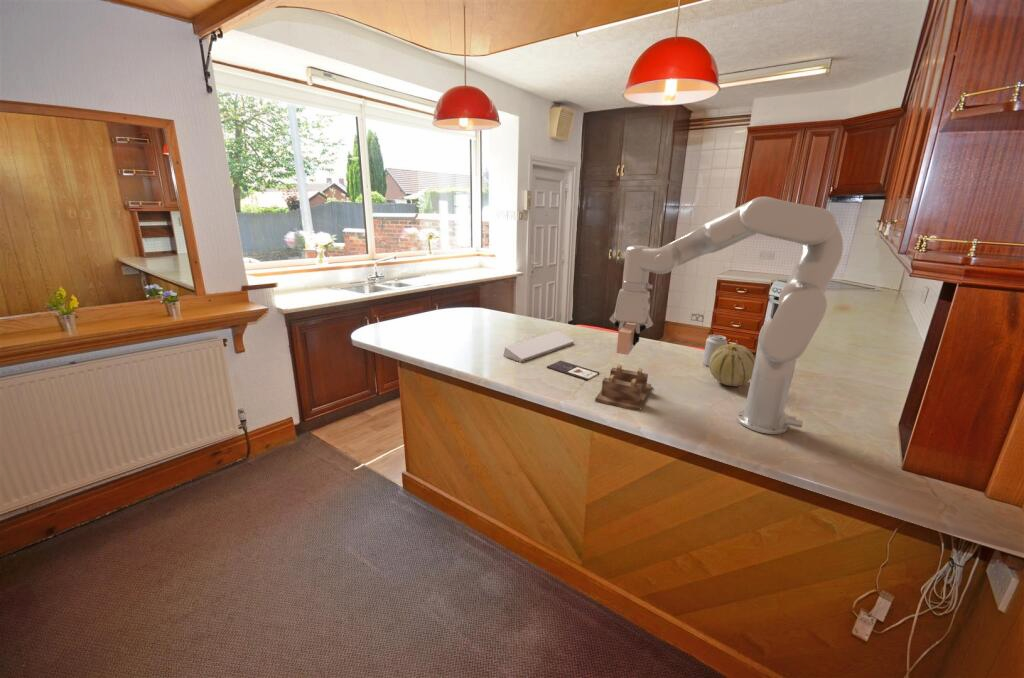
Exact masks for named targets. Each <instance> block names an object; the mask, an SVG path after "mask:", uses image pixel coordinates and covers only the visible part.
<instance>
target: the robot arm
mask: <svg viewBox="0 0 1024 678" xmlns="http://www.w3.org/2000/svg"><path fill="white" fill-rule="evenodd" d="M757 234H759V235H763V236H767V237H771V238H774V239H780V240H783V241H788V242H790V243H791V242H792V243H796V244H800V252H799V256H798V257H797V260H796V263H795V265H794V268H793V270H792V272H791V274H790V276H789V277H788V279H787V281H786V283H785V285H784V287H783V288H782V290H781V292H780V294H779V297H778V306H777V309H776V311H775V313H774V315H773V317H772V318H770V319H769V320H767V321H766V322H765V323H764V324H763V325H762V326H761V328H760V331H759V335H758V340H757V345H756V352H755V353H756V354H755V356H754V357H755V362H754V367H753V372H752V377H751V379H750V381H749V387H748V392H747V396H746V397H747V398H746V402H745V407H744V410H741V411H739V412H738V413H737V415H736V416H737V417H736V419H737V421H738V422H739V423H740V424H741V425H742V426H744V427H746V428H747V429H749V430H751V431H754V432H758V433H762V434H767V435H780V434H784V433H786V432H787V429H788V427H789V426H793V427H795V428H802V427H803V423H804V421H803V420H799V419H797V417H796V416H793V415H787V413H786V411H785V410H786V407H787V406H786V405H787V402H788V396H789V393H790V388H791V386H792V385H791V384H792V381H793V378H794V372H795V368H796V363H797V359H799V358H800V357H801V356H802V355H803V354H804V352H805V351H806V349H807V348H808V345H809V344H810V343H811V340H812V339H813V337H814V335H815V334H816V331H817V330H818V328H819V325H820V324H821V322H822V321H823V318H824V316H825V314H826V311H827V308H828V307H827V306H828V301H827V297H826V295H825V294H826V291H827V289H828V286H829V285H830V284H831V282H832V280H833V277H834V274H835V273H836V270H837V269H838V266H839V264H840V261H841V260H842V257H843V256H842V255H843V250H844V248H843V247H844V243H843V242H844V241H843V237H842V236H843V235H842V232H841V229H840V228H839V226H838V224H837V220H836V217H835V216H834V214H833V213H832V212H831V211H830V210H828V209H826V208H824V207H820V206H819V207H818V206H812V205H807V204H802V203H796V202H791V201H787V200H783V199H778V198H775V197H771V196H758V197H755V198H753V199H751V200H749V201H747V202H746V203H743V204H741V205H739V206H737V207H735V208H733V209H731V210H729V211H727V212H725V213H723V214H720V215H719V216H717V217H715V218H713V219H711V220H709V221H707V222H705V223H704V224H702V225H701V226H699V227H698V228H696V229H695V230H693V231H691V232H689V233H688V234H686V235H683V236H682V237H680V238H677V239H676V240H673V241H671V242H669V243H667V244H665V245H663V246H660V247H657V248H653V247H652V248H651V247H650V246H648V245H647V246H646V245H629V246H628V247H626V250H625V255H624V264H623V265H624V266H623V273H622V274H623V275H622V285H621V288H620V289H619V291H618V294H617V298H616V304H615V309H614V312H613V313H612V315H611V316H610V317H609V320H608V321H610V322H611V323H612V324H614V325H615V326H616V328H617V329H618V331H619V330H620V329H621V328H622V327H623V326H624V325H625V324H626V323H635V324H636V331H635V333H634V340H633V345H635V346H636V345H637V343H639V341H640V337H641V332H643V331H644V330H645V329H648V328H650V327H653V325H654V322H653V320H652V318H651V316H650V312H651V311H650V309H651V308H650V307H651V294H650V291H648V290H653V286H654V285H653V284H650V283H649V276H650V273H653V274H656V275H657V274H658V275H662V274H663V275H665V274H668V273H670V272H671V271H672V270H674V269H676V268H678V267H679V266H681V265H683V264H686V263H688V262H690V261H692V260H695V259H698V258H699V257H701V256H702V257H703V256H704V255H708V254H713V253H717V252H719V251H722V250H724V249H726V248H728V247H730V246H733V245H735V244H737V243H739V242H741V241H742V242H743V241H744V240H746V239H748V238H751V237H753V236H755V235H757Z"/></svg>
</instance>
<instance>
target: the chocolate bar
mask: <svg viewBox="0 0 1024 678" xmlns="http://www.w3.org/2000/svg"><path fill="white" fill-rule="evenodd" d="M546 368H547V369H548V370H553V371H555V372H558V373H561V374H565V375H567V376H570V377H574V378H576V379H580V380H583V381H588V380H590V379H592V378H594V377H596V376H598V375H600V372H599V371H596V370H593V369H590V368H586V367H583V366H580V365H577V364H573V363H570V362H566V361H563V360H558V361H556V362H554V363H552V364H550V365H547V366H546Z"/></svg>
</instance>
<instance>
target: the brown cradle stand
mask: <svg viewBox="0 0 1024 678" xmlns="http://www.w3.org/2000/svg"><path fill="white" fill-rule="evenodd" d="M609 373H610V375H609V376H608V377H604V378H603V379H602V382H601V383H602V384H601V390H600V392H599V393H597V395H596V397H595V398H594V401H595V402H597V403H603V404H606V405H610V406H615V407H619V408H624V409H628V408H629V410H633V409H634V411H637V410H638V412H640V411H641V409H640V408H642V406H643V405H644V402H645V400H646V398H647V396H648V394H649V392H650V390H651V388H652V384H651V383H648V378H649V373H644V372H643V368H641V367H640V368H638V370H637V371H634V370H628V369H624V368H623V365H622V364H618V365H617V367H612V368H611V370H610V371H609ZM639 410H640V411H639Z"/></svg>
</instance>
